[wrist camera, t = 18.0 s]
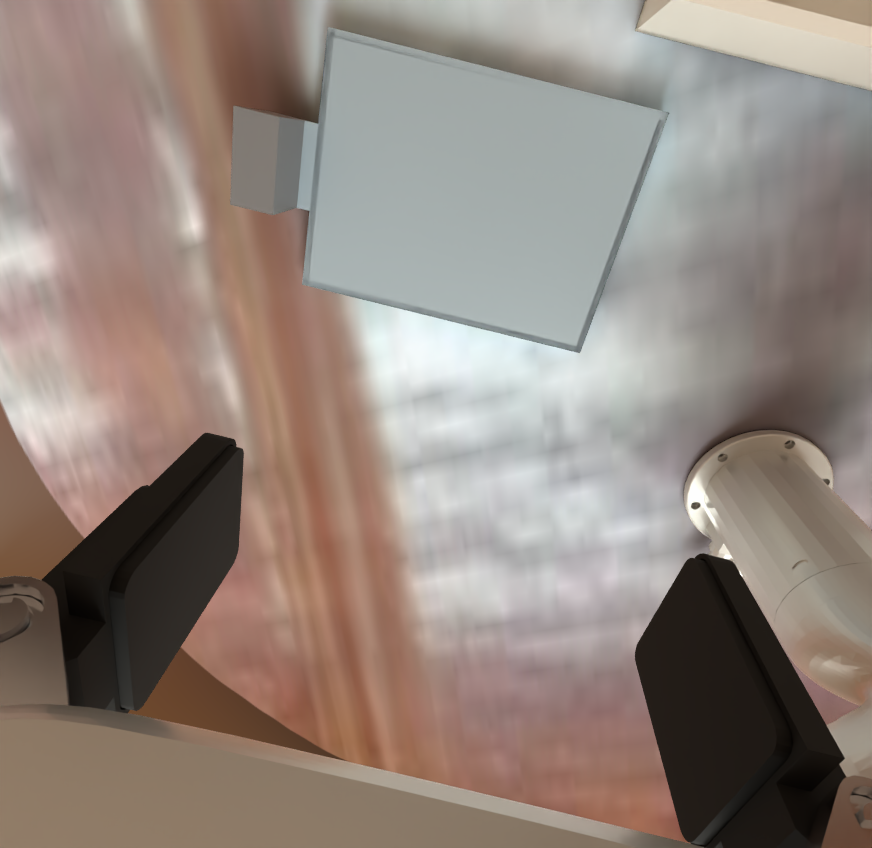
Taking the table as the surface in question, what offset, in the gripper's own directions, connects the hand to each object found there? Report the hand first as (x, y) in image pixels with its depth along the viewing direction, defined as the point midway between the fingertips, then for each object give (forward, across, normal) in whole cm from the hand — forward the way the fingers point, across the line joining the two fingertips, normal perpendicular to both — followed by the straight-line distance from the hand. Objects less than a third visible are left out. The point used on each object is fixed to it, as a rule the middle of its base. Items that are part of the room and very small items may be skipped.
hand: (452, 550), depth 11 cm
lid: (+36, +4, -3) cm, 37 cm away
